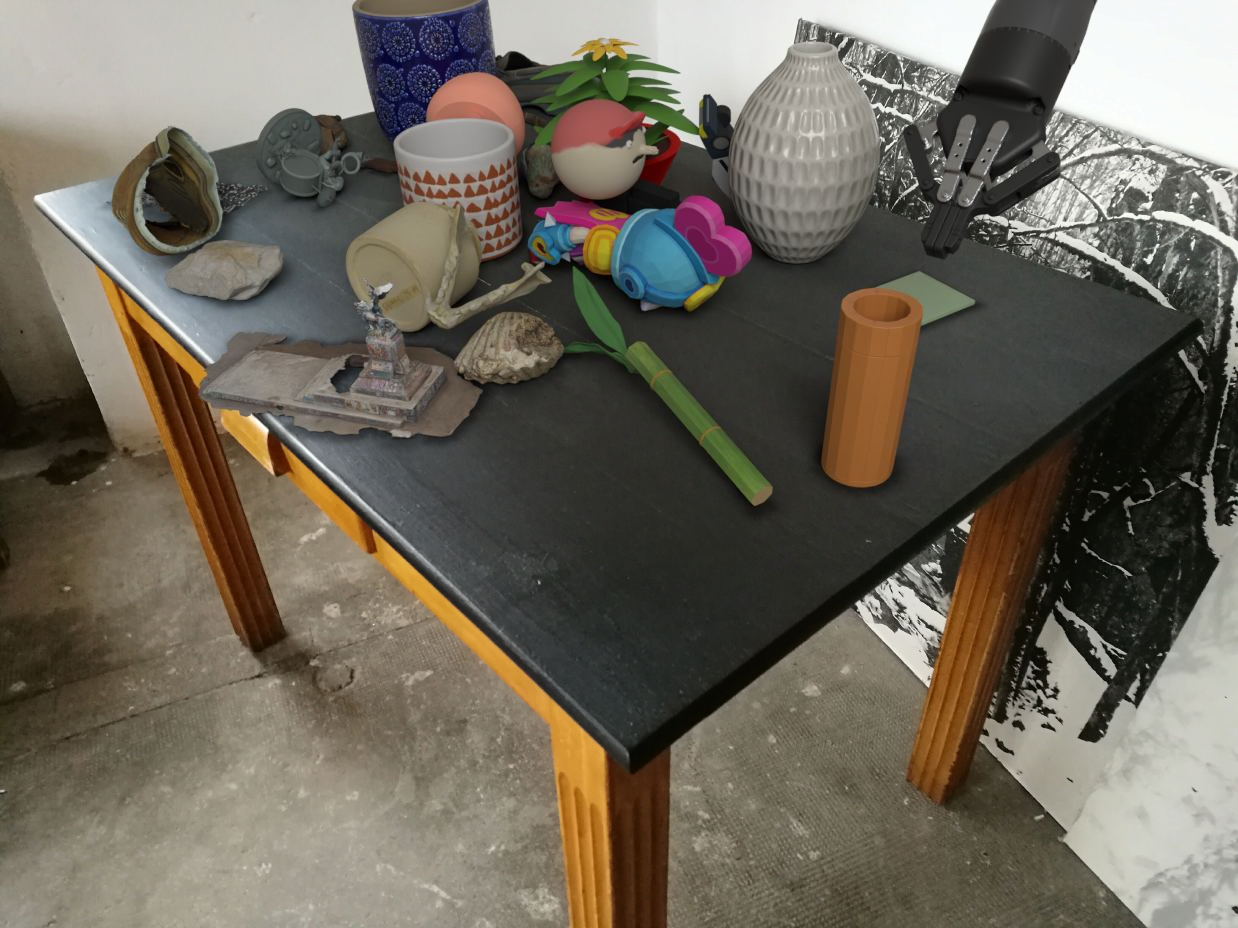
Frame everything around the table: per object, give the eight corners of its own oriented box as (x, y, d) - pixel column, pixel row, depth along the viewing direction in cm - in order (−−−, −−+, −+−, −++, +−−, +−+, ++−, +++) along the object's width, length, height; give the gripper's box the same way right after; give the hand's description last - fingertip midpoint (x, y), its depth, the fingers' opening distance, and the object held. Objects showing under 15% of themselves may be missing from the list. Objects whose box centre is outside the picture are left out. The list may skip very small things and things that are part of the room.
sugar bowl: (303, 219, 92) (396, 163, 102) (330, 313, 99) (415, 252, 109) (420, 246, 87) (507, 185, 96) (440, 344, 94) (519, 277, 104)
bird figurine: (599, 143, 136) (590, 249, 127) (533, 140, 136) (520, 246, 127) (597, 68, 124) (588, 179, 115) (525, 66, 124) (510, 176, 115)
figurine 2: (273, 112, 139) (321, 97, 144) (281, 141, 142) (328, 126, 147) (326, 131, 132) (375, 115, 137) (333, 161, 134) (381, 145, 139)
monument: (156, 401, 87) (109, 281, 79) (253, 323, 98) (220, 212, 90) (442, 457, 80) (421, 332, 72) (510, 366, 91) (499, 249, 83)
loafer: (481, 83, 160) (473, 26, 154) (626, 105, 148) (623, 45, 142) (443, 102, 153) (433, 44, 147) (591, 127, 141) (587, 65, 135)
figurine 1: (317, 168, 132) (376, 208, 129) (255, 190, 125) (317, 233, 122) (317, 99, 125) (380, 140, 122) (252, 119, 118) (317, 163, 115)
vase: (827, 212, 114) (848, 19, 99) (892, 269, 101) (927, 59, 87) (705, 232, 110) (709, 37, 96) (757, 294, 98) (770, 81, 84)
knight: (543, 310, 109) (741, 355, 89) (486, 219, 100) (692, 246, 80) (603, 243, 113) (806, 272, 93) (553, 150, 104) (766, 159, 84)
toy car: (716, 121, 101) (677, 139, 104) (778, 207, 113) (742, 222, 116) (716, 89, 104) (678, 107, 106) (777, 177, 115) (742, 191, 118)
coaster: (918, 274, 101) (919, 270, 100) (974, 304, 95) (975, 300, 95) (863, 295, 98) (864, 291, 97) (918, 327, 92) (919, 323, 92)
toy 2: (701, 276, 104) (595, 234, 110) (717, 257, 106) (612, 216, 111) (700, 220, 97) (587, 178, 103) (717, 200, 99) (605, 160, 105)
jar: (858, 435, 79) (883, 280, 69) (907, 471, 75) (940, 312, 66) (806, 458, 77) (824, 302, 67) (853, 496, 73) (880, 336, 63)
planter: (514, 164, 130) (496, 7, 117) (384, 181, 127) (350, 22, 114) (497, 122, 144) (479, -22, 131) (380, 136, 141) (350, -10, 128)
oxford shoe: (231, 166, 125) (175, 218, 128) (167, 109, 119) (108, 164, 121) (217, 262, 105) (149, 321, 107) (138, 199, 98) (68, 264, 101)
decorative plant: (723, 504, 69) (538, 282, 85) (721, 558, 76) (550, 343, 92) (788, 467, 71) (594, 256, 87) (780, 524, 77) (602, 318, 93)
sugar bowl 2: (401, 121, 111) (421, 71, 116) (472, 203, 120) (488, 153, 126) (478, 81, 105) (496, 30, 110) (547, 171, 114) (560, 120, 120)
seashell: (486, 330, 79) (419, 360, 86) (526, 399, 81) (458, 423, 88) (556, 281, 87) (491, 312, 94) (592, 346, 89) (525, 371, 96)
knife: (503, 213, 119) (524, 194, 122) (501, 205, 118) (522, 186, 121) (345, 177, 130) (367, 161, 133) (342, 170, 129) (365, 153, 132)
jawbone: (547, 297, 94) (567, 238, 88) (491, 376, 86) (510, 316, 80) (442, 243, 94) (455, 180, 88) (376, 316, 85) (386, 252, 79)
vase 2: (533, 220, 116) (525, 118, 108) (508, 269, 106) (498, 161, 97) (429, 215, 118) (414, 115, 110) (395, 263, 107) (375, 156, 99)
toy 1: (649, 214, 94) (635, 116, 88) (546, 213, 98) (527, 120, 92) (679, 177, 101) (669, 84, 95) (582, 177, 105) (566, 89, 99)
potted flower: (603, 156, 131) (595, 2, 118) (749, 196, 118) (757, 28, 105) (481, 215, 117) (457, 48, 104) (631, 268, 104) (624, 84, 91)
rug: (268, 184, 126) (270, 191, 127) (153, 173, 132) (156, 180, 132) (223, 212, 119) (225, 218, 120) (104, 199, 124) (106, 205, 125)
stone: (232, 254, 111) (165, 296, 106) (213, 214, 108) (143, 255, 102) (309, 277, 105) (243, 323, 99) (293, 235, 102) (223, 281, 96)
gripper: (936, 13, 72) (846, 216, 72) (1114, 35, 65) (1014, 258, 66) (949, 65, 78) (867, 251, 79) (1112, 90, 72) (1021, 292, 72)
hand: (934, 254), depth 72 cm, fingers closed
